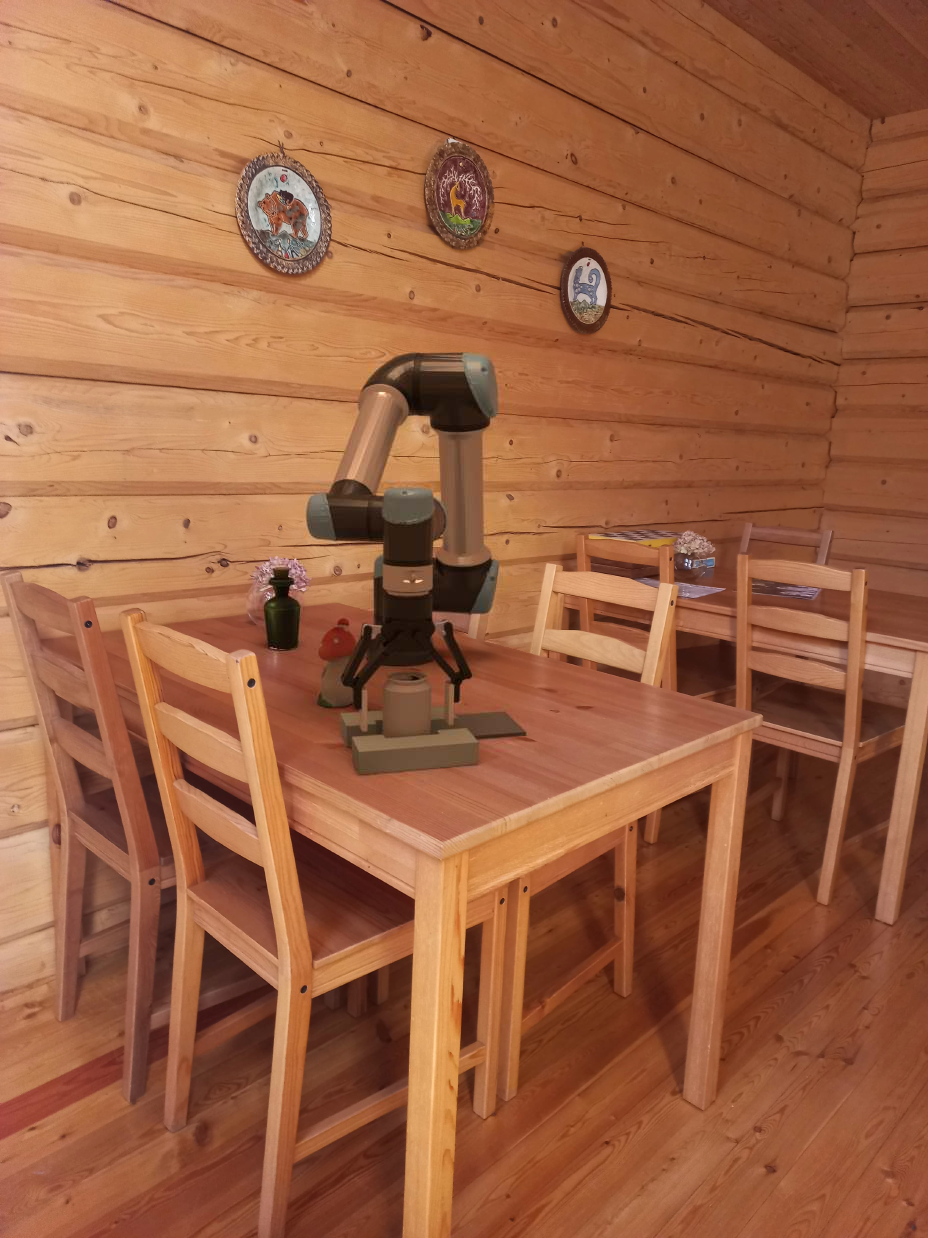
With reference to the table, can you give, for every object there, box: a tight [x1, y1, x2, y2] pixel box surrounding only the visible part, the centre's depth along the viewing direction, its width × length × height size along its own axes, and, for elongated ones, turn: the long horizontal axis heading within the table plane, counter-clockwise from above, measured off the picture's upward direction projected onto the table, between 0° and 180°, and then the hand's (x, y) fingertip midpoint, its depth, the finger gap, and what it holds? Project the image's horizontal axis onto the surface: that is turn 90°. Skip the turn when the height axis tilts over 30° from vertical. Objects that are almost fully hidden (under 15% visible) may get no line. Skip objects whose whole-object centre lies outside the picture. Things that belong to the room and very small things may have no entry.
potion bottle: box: [263, 566, 301, 649], centre depth 198 cm, size 8×8×18 cm
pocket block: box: [339, 705, 480, 776], centre depth 139 cm, size 18×18×4 cm
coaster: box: [455, 710, 527, 740], centre depth 150 cm, size 11×11×1 cm
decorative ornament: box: [316, 618, 358, 709], centre depth 160 cm, size 9×7×15 cm
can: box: [382, 670, 432, 738], centre depth 138 cm, size 8×8×12 cm
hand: (406, 725), depth 138 cm, fingers open, 13 cm apart
